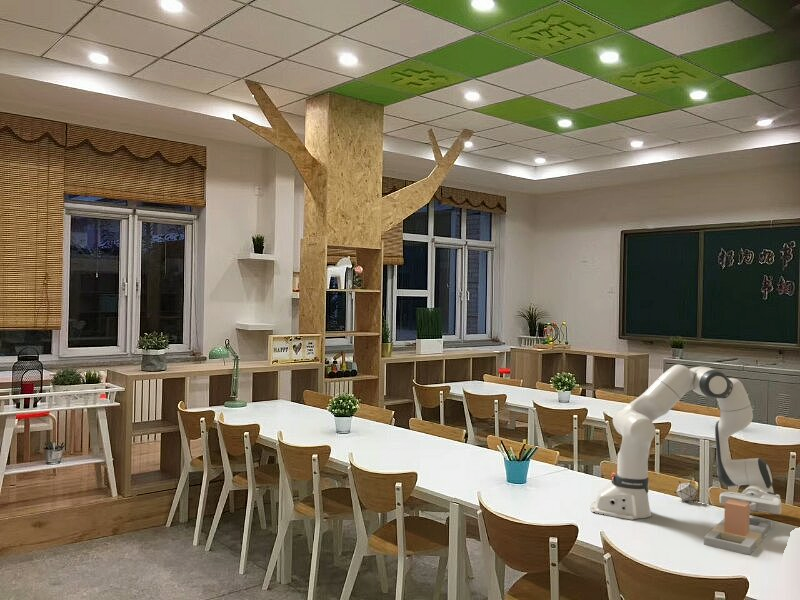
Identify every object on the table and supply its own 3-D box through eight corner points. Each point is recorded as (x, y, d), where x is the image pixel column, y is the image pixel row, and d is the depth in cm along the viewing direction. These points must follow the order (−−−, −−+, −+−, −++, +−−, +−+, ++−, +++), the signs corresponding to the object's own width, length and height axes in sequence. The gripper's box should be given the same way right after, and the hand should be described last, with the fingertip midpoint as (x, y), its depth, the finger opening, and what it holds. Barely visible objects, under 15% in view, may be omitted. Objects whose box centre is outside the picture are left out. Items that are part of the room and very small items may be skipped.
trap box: (729, 520, 253) (729, 513, 253) (771, 528, 244) (771, 521, 244) (703, 544, 226) (703, 537, 226) (749, 555, 218) (749, 547, 218)
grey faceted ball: (687, 509, 278) (696, 488, 281) (696, 507, 270) (706, 485, 273) (667, 497, 280) (677, 476, 283) (676, 495, 272) (685, 473, 275)
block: (728, 527, 237) (729, 498, 237) (749, 531, 233) (749, 502, 233) (724, 531, 232) (724, 502, 232) (744, 536, 228) (745, 506, 228)
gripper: (724, 485, 259) (714, 493, 248) (784, 495, 246) (777, 504, 236) (724, 502, 259) (714, 510, 248) (784, 513, 246) (777, 522, 235)
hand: (745, 507), depth 242 cm, fingers closed
